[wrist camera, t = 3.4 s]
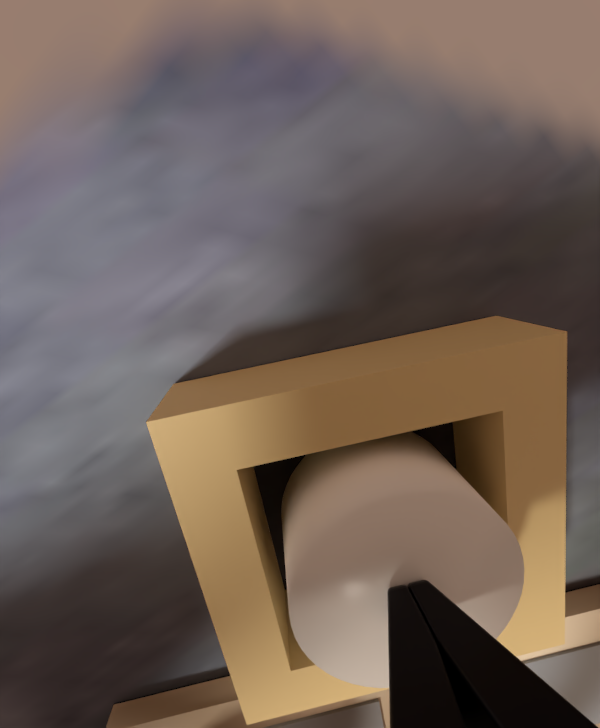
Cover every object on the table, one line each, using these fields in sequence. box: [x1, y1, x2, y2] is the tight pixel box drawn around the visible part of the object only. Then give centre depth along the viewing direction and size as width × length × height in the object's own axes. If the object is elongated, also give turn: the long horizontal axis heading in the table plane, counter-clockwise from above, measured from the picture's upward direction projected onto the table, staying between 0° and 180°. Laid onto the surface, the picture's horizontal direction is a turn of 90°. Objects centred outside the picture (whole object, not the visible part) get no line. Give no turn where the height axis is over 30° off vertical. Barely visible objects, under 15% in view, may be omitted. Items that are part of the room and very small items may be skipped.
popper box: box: [146, 316, 567, 725], centre depth 10 cm, size 9×9×2 cm
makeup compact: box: [106, 584, 600, 728], centre depth 14 cm, size 18×7×1 cm, turn 101°
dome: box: [281, 432, 524, 688], centre depth 9 cm, size 5×5×3 cm
